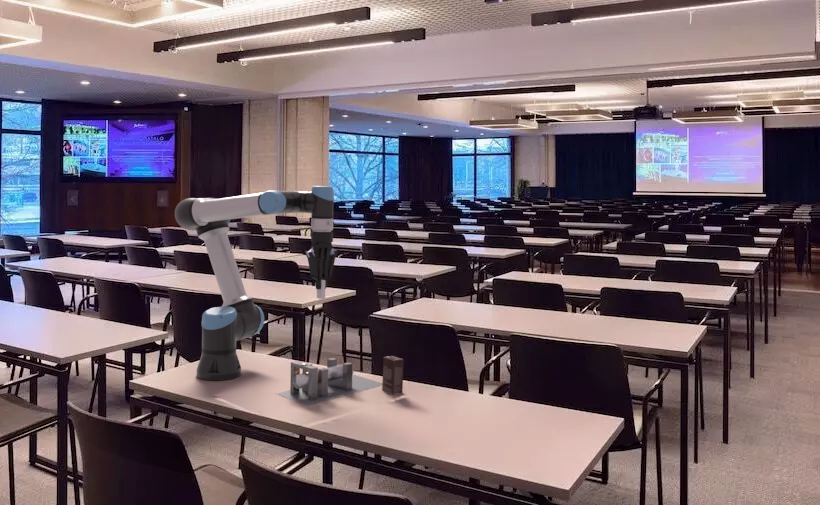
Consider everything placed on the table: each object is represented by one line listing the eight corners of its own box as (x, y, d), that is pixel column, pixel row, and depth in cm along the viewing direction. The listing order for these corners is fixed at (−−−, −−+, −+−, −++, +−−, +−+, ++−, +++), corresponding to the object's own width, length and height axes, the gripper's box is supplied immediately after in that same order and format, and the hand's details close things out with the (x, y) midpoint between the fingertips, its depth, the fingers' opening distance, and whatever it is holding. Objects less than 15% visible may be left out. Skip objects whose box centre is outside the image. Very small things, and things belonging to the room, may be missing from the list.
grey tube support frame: (326, 384, 230) (327, 359, 229) (332, 383, 232) (332, 357, 231) (346, 391, 224) (347, 364, 223) (352, 389, 225) (352, 363, 224)
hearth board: (275, 396, 218) (275, 393, 218) (353, 376, 243) (353, 374, 243) (307, 408, 208) (307, 405, 208) (385, 386, 233) (385, 384, 233)
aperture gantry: (290, 393, 219) (290, 361, 218) (296, 391, 221) (296, 360, 220) (311, 400, 212) (312, 367, 211) (317, 399, 214) (318, 366, 213)
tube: (292, 387, 216) (292, 373, 216) (344, 374, 232) (344, 361, 232) (301, 390, 213) (301, 376, 212) (353, 377, 229) (353, 364, 229)
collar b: (302, 390, 222) (302, 364, 222) (307, 389, 224) (308, 363, 223) (321, 397, 216) (322, 370, 215) (327, 396, 218) (328, 369, 217)
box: (403, 394, 224) (404, 358, 223) (392, 397, 221) (393, 360, 220) (392, 390, 229) (393, 355, 228) (381, 392, 226) (382, 356, 225)
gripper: (314, 232, 229) (313, 301, 231) (343, 231, 238) (342, 297, 240) (300, 230, 234) (299, 298, 236) (329, 229, 243) (328, 295, 245)
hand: (320, 298), depth 238 cm, fingers closed
